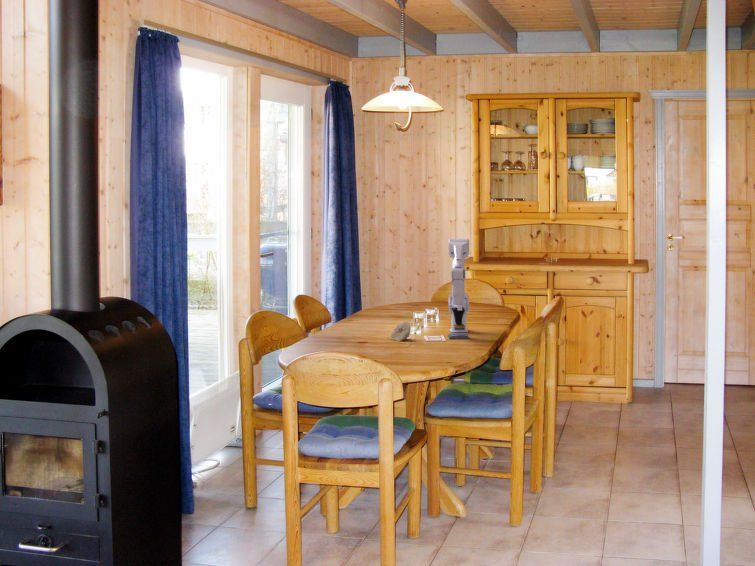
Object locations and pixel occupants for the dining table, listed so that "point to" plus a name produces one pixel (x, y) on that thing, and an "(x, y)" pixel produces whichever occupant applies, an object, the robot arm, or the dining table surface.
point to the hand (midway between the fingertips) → (458, 324)
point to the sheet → (435, 338)
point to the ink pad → (458, 336)
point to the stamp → (459, 327)
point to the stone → (401, 331)
